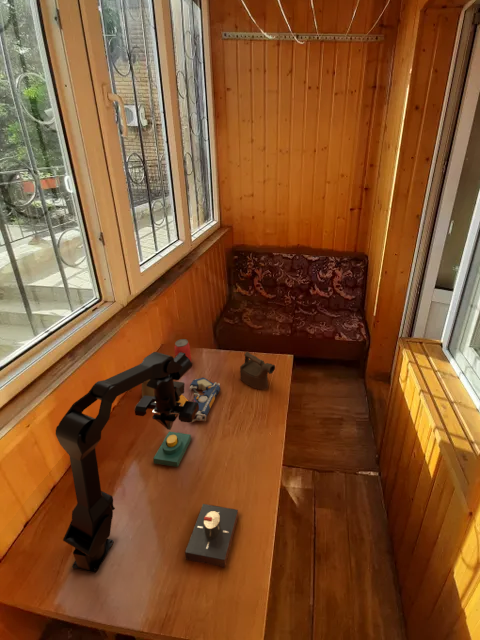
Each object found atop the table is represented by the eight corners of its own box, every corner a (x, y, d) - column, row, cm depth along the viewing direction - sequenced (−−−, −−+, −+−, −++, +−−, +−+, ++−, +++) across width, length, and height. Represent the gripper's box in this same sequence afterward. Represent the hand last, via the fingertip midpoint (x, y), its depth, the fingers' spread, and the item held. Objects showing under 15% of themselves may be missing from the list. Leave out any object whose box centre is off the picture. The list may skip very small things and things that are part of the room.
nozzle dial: (222, 522, 81) (222, 511, 80) (217, 540, 78) (216, 529, 76) (208, 519, 82) (207, 508, 80) (202, 537, 78) (201, 526, 77)
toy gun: (165, 420, 114) (204, 426, 112) (164, 411, 113) (203, 417, 111) (190, 381, 134) (223, 386, 132) (190, 373, 132) (223, 378, 130)
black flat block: (225, 567, 75) (224, 559, 74) (186, 559, 76) (184, 551, 75) (238, 516, 85) (237, 509, 84) (203, 510, 87) (202, 503, 85)
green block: (177, 467, 98) (176, 458, 97) (154, 463, 99) (152, 454, 98) (191, 439, 107) (190, 430, 106) (169, 436, 108) (168, 427, 107)
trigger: (174, 448, 100) (173, 444, 100) (165, 446, 101) (164, 442, 100) (179, 439, 103) (178, 435, 103) (170, 437, 104) (169, 434, 103)
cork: (138, 399, 124) (134, 377, 120) (148, 388, 129) (145, 366, 125) (151, 402, 122) (147, 380, 118) (161, 391, 127) (157, 370, 124)
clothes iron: (264, 398, 125) (264, 371, 121) (239, 378, 135) (238, 353, 131) (278, 387, 131) (278, 361, 126) (252, 369, 141) (252, 344, 136)
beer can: (175, 361, 145) (173, 340, 141) (190, 358, 148) (188, 336, 143) (177, 370, 139) (174, 348, 135) (192, 366, 142) (190, 344, 138)
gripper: (203, 375, 101) (207, 412, 106) (150, 368, 103) (156, 405, 108) (188, 401, 90) (193, 441, 96) (129, 393, 93) (137, 432, 98)
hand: (169, 428), depth 100 cm, fingers closed
